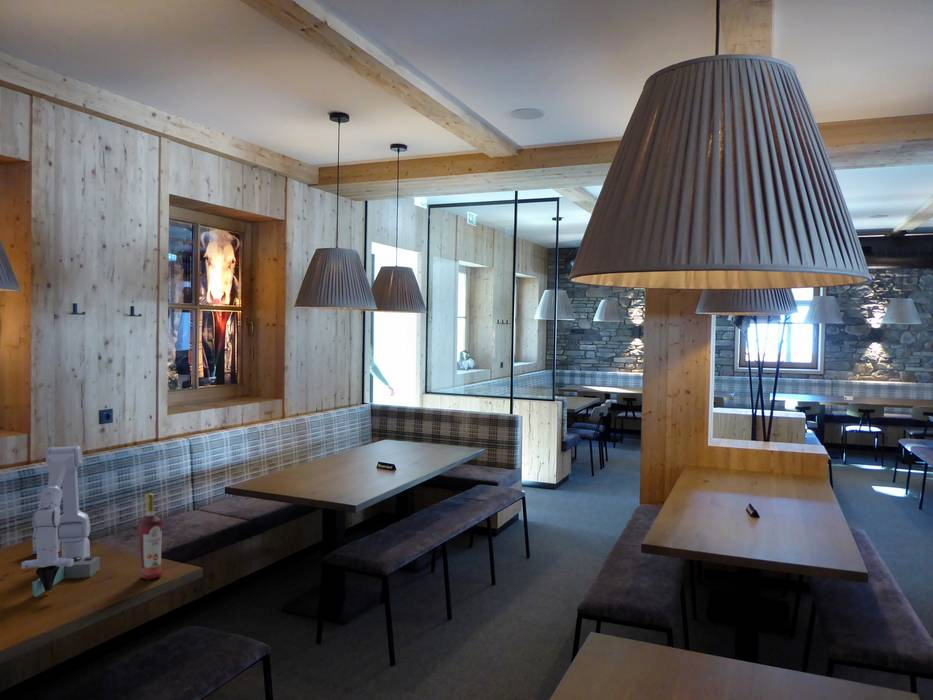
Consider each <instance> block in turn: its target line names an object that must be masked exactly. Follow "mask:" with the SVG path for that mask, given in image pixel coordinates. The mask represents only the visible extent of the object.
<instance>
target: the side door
mask: <svg viewBox="0 0 933 700" xmlns="http://www.w3.org/2000/svg"><path fill="white" fill-rule="evenodd" d="M65 579H66V578H65V577H64V566H60V568H59V569H58V571H57V574H56V576H55V579H54V582H53V586H55V585H57V584H58V583H59V582H61V581H63V580H65ZM44 592H46V591H45V590H44V586H43V584H42V581H41V580H40V578H39V577H38V579H37V580H34V581H32V582H31V593H32V596H33V597H35V598H36V597H39V596H40V595H42V594H44Z"/></svg>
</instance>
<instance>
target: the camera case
mask: <svg viewBox="0 0 933 700" xmlns="http://www.w3.org/2000/svg"><path fill="white" fill-rule="evenodd" d="M71 559H74V565H72V566H71V567H67V566H64V577H65V579H86V578H87V577H90V578H92V577H93V576H94V575H95V574H96V572H97V571H98V570H99V569H100V568H101V564H100V563H101V562H100V560H101V559H100V556H92V555H90V557H83V558H81V557H73V558H71ZM100 570H101V569H100ZM100 570H99V571H100ZM99 571H98V572H99ZM98 572H97V573H98Z"/></svg>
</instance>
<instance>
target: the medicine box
mask: <svg viewBox="0 0 933 700" xmlns="http://www.w3.org/2000/svg"><path fill="white" fill-rule="evenodd" d="M59 551H60V552H61V542H60V540H58V552H59ZM60 552H59V553H60ZM33 554H37V548H36V534H35V533H34V530H33V531H32V555H33Z"/></svg>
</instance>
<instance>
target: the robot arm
mask: <svg viewBox="0 0 933 700" xmlns="http://www.w3.org/2000/svg"><path fill="white" fill-rule="evenodd" d="M83 455H84V454H83V449H82V447H81V446H80V445H74V446H72V445H71V446H54V447H52V446H49V447H48V448H47V450H46V451H45V463H46V465H47V467H48V469H49V474H48V480H47V487H46V488H44V489H43V490H42V491H41V496H40V499H39V503H38V508H37V510H35V511H34V512H33V514H32V519H31V523H32V527H33V531H34V533H35V534H36V548H37V555H36V559H29V560H24V561H22V562H20V563H21V564H20V565H21V569H22V570H24V569H31V568H33V569H34V568H36V570H35V574H36V576H38V579H39V578H40V580H41V581H42V584H43V586H44V590H45V592H46V591H47V592H50V591H51V590H52V589H53V587H54V585H53V582H54V579H55V576H56V574H57V571H58V569H59V568H60V566H67V567H71V566H72V565H74V559H71V558H73V557H81V558H83V557H91V549H90V548H91V546H90V543H91V542H90V539H89V538H88V537H89V535H90V533H91V521H90V519H89V518H90V517H89V515H88V514H87V513H86V512H83V511H81V510H80V502H79V501H80V496H79V481H78V480H79V479H78V468H79V467H82V466H83V463H84V460H83V459H84V458H83ZM61 488H62V489H61ZM61 503H62V505H63V506H62V507H63V513H62V514H61V508H60V507H61ZM58 540H60V543H61V557H59V553H58Z"/></svg>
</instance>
